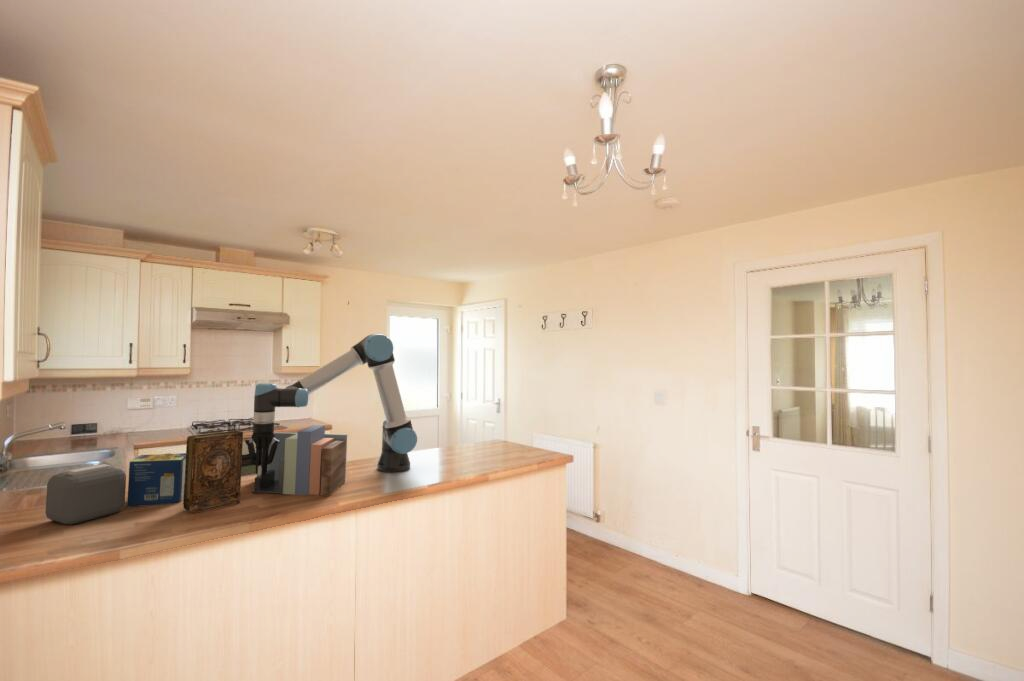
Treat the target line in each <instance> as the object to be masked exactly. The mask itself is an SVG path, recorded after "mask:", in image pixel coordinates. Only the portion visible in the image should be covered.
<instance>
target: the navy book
mask: <svg viewBox="0 0 1024 681" xmlns="http://www.w3.org/2000/svg"><path fill="white" fill-rule="evenodd" d="M325 432H326V425H323V424H322V425H321V424H313V425H309V426H308V427H307V426H306V427H305V428H302V429H299V430H297V433H298V434H297V457H296V479H295V494H294V495H299V496H300V495H303V496H304V495H306V496H308V495H310V494H309V475H310V452H311V444H313V443H315V442H317V441H319V440H321V439H323V438H325V434H326V433H325Z"/></svg>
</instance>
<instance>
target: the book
mask: <svg viewBox="0 0 1024 681" xmlns="http://www.w3.org/2000/svg"><path fill="white" fill-rule="evenodd" d="M186 438H187V439H186V447H185V448H186V449H185V453H186V464H185V482H184V499H183V500H182V501H183V503H182V505H183V507H182V508H183V510H188V512H189V513H190V514H196V513H200V512H206V511H211V510H214V509H219V508H223V507H228V506H232V505H236V504H237V505H238V504H240V503H241V484H242V483H241V482H242V464H243V462H242V461H243V460H242V459H243V445H244V444H243V443H244V440H243V439H244V432H243V431H240V430H230V431H223V432H222V431H221V432H213V433H206V434H205V433H204V434H195V435H188V436H187V437H186Z"/></svg>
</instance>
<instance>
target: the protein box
mask: <svg viewBox="0 0 1024 681" xmlns="http://www.w3.org/2000/svg"><path fill="white" fill-rule="evenodd" d="M128 462H129V466H128V484H127V485H128V486H127V487H128V488H127V502H126V503H127V504H126V507H127V506H131V507H140V506H139V505H146V506H157V505H156V504H158V506H159V504H161V505H174V504H180V503H181V502H182V501H183V500H184V482H185V464H186V452H185V453H161V454H159V453H158V454H141V455H139V456H137V457H135V458H133V459H132V460H130V461H128Z"/></svg>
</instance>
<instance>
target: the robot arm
mask: <svg viewBox="0 0 1024 681" xmlns="http://www.w3.org/2000/svg"><path fill="white" fill-rule="evenodd" d="M395 361H396V360H395V356H394V344H393V341H392V340H391V339H390V337H389V336H387V335H385V334H383V333H372V334H369V335H367V336H365V337H364V338H362V339H361V340H360V341H359V342H357V343H356V344H354V345H353V346H351V347H350V350H348V351H347V352H345V353H344V354H341V355H340V356H338V357H337V358H335V359H333V360H332V361H331V360H330V362H328V363H327V364H324V365H323V366H322V367H319V368H317V369H316V370H314V371H313V372H311V373H310V374H308V375H306V376H305V377H302V378H300V379H299V380H297V381H296V382H295V383H292V384H290V385H288V386H286V387H285V388H280V387H279V388H278V386H277V383H272V382H262V383H257V384H256V385H255V389H254V395H253V403H254V404H253V419H252V421H253V423H252V435H251V437H250V438H248V439H245V441H244V443H245V445H246V446H247V450H248V456H249V461H250V464H251V465H254V466H255V474H256V475H257V474H258V476H259V475H261V474H265V473H266V472H267V465H268V464H270V463H272V461H273V458H274V455H275V452H276V449H277V445H278V444H279V443H280V440H277V439H276V438H275V436H274V432H275V423H274V422H275V421H276V420H275V416H276V408H304V407H307V406H308V403H309V395H311V394H312V393H314V392H315V391H318V390H319V389H321V388H323V387H324V386H326V385H327V384H329V383H331V382H334V380H336V379H337V378H339V377H341V376H343V375H344V374H346V373H348V372H349V371H351V370H353V369H354V368H356V367H358V366H359V365H361V366H363V365H365V364H367V366H368V369H371V370H372V371H373V375H374V379H375V383H376V387H377V390H378V394H379V398H380V401H381V404H382V408H383V413H384V417H385V420H384V421H383V422H382V425H381V426H382V427H381V428H382V433H381V434H382V438H381V439H382V440H381V453H380V456H379V458H378V461H377V466H376V469H377V471H380V472H384V473H398V472H399V473H400V472H406V471H408V470H410V469H411V461H410V458H409V454H408V453H410V452H412V451H413V450H414V449H415V448H416V446H417V443H418V435H417V433H416V431H415V430H414V429H413V424H412V421H411V418H410V417H408V416H407V414H406V412H405V406H404V404H403V400H402V397H401V396H402V395H401V393H400V389H399V385H398V382H397V377H396V373H395V369H394V366H393V365H394V363H395ZM272 441H273V442H272ZM271 442H272V444H273V445H272V446H271V450H270V453H269V456H268V450H269V444H270V443H271ZM262 449H263V451H262ZM261 464H262V465H261Z"/></svg>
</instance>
